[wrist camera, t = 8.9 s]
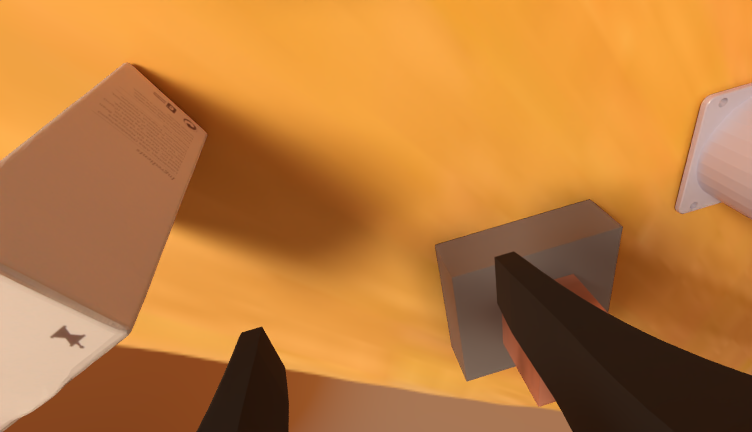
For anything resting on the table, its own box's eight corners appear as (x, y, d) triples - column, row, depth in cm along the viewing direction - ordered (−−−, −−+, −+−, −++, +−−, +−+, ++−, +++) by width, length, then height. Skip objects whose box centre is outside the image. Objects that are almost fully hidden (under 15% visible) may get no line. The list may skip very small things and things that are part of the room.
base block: (589, 199, 26) (622, 226, 23) (578, 307, 32) (603, 338, 29) (434, 245, 25) (451, 277, 23) (451, 346, 31) (466, 381, 29)
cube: (573, 273, 25) (625, 332, 21) (568, 323, 27) (613, 383, 24) (501, 295, 25) (540, 358, 21) (503, 343, 27) (538, 406, 23)
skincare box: (126, 56, 17) (-85, 220, 7) (210, 132, 19) (140, 336, 9) (31, 148, 18) (-264, 400, 8) (121, 210, 20) (-24, 463, 10)
